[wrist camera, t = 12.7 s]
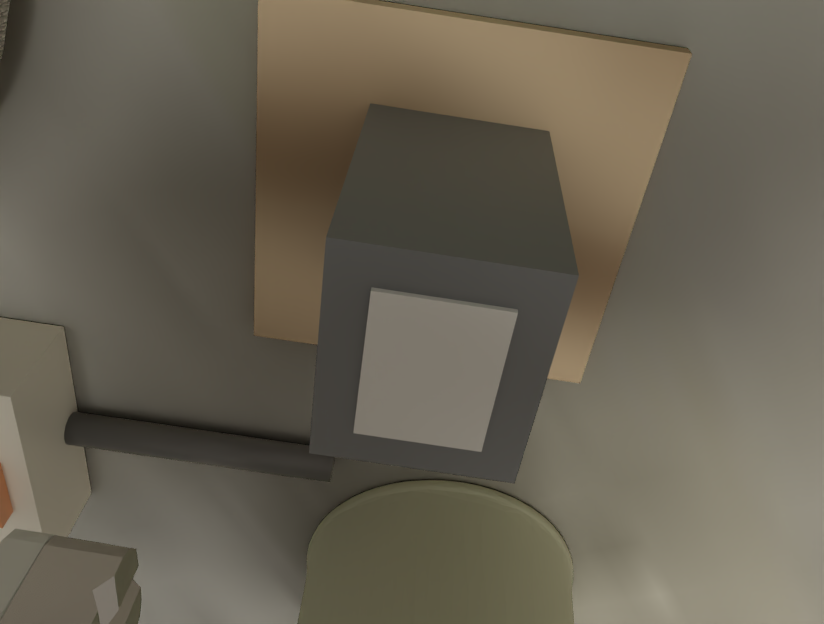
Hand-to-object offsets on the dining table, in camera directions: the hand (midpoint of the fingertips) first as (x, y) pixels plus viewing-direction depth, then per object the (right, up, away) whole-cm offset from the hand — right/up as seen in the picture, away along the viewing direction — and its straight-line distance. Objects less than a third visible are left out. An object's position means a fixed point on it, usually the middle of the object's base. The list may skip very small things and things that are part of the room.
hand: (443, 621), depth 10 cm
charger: (0, +6, +8) cm, 10 cm away
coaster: (0, +7, +9) cm, 11 cm away
